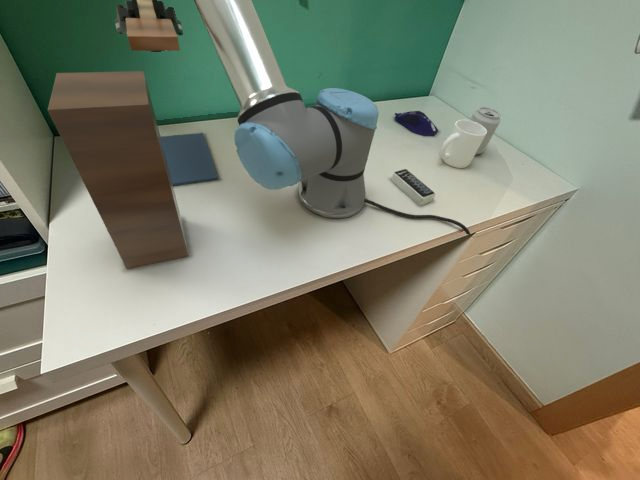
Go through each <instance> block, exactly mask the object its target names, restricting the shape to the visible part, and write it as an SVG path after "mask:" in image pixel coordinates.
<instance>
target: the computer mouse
mask: <svg viewBox="0 0 640 480" xmlns="http://www.w3.org/2000/svg"><path fill="white" fill-rule="evenodd" d="M394 119H395V122H397V123H399V124H400V125H402V126H403V127H404V128H406V129H408V130H409V131H411V132H412V133H415V134H418V135H420V136H421V135H422V136H430V137H431V136H432V137H433V136H435V135H436V134H437V133H438V132H439V129H438V128H437V126H436V125H435V124H434V122H433V121H432V120H431V119H430V118H429V117H428V116H427V114H425V112H422V111H420V110H410V111H405V112H403V113H402V112H398V113H397V112H394Z"/></svg>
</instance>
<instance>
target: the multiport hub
mask: <svg viewBox="0 0 640 480" xmlns="http://www.w3.org/2000/svg"><path fill="white" fill-rule="evenodd" d="M391 182H393V183H394V184H395V185H396V186H397V187H398V188H399V189H400V190H401V191H402V192H404V193H405V194H406V195H407V196H408V197H409V198H411V199H412V200H413V201H414V202H415V204H417V205H418V206H423V205H425V204H428V203H431V202H432V201H433V199H434V197H435V195H436V192H435V191H434V190H432V189H431V187H429V186H427V185H426V184H425V183H424V182H422V181H421V180H420V179H419V178H418V177H417V176H415V174H413V173H412V172H411V171H410V170H408V169H407V168H403V169H399V170H396V171H394V172H393V173H392V177H391Z"/></svg>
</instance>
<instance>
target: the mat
mask: <svg viewBox="0 0 640 480" xmlns="http://www.w3.org/2000/svg"><path fill="white" fill-rule="evenodd" d="M160 136H161V140H162V144H163V148H164V152H165V156H166V160H167V164H168V168H169V172H170V176H171V180H172V184H173V187H174V186H179V185H188V184H193V183H202V182H211V181H217V180H219V177H218V173H217V171H216V167H215V165H214V161H213V159H212V156H211V152H210V150H209V146H208V143H207V141H206V137H205V134H204V132H198V133H186V134H175V135H174V134H173V135H164V136H162V135H160Z"/></svg>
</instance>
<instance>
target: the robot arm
mask: <svg viewBox="0 0 640 480" xmlns="http://www.w3.org/2000/svg"><path fill="white" fill-rule="evenodd" d="M194 2H195V4H196V6H197V9H198V11H199V13H200V15H201V16H200V18H201V20H202V22H203V24H204V27H205V29H206V31H207V33H208V36H209V38H210V41H211V43H212V45H213V47H214V49H215V51H216V54H217V56H218V58H219V61H220V63H221V65H222V68H223V70H224V72H225V74H226V76H227V79H228V81H229V84H230V85H231V88H232V90H233V92H234V94H235V98H236V99H237V102H238V104H239V107H240V108H239V111H238V114H237V117H236V121H237V123H238V127H237V128H236V130H235V132H234V145H235V146H236V153H237V156H238V159H239V161H240V163H241V164H242V166H243V168H244V169H245V171H246V173H247V174H248V175H249V177H251V179H252V180H254V182H255V183H257V184H258V185H260V186H261V187H262V188H265V189H267V190H271V191H277V190H282V189H284V188H287V187H293V186H295V185H298V197H299V198H298V199H299V201H300V203H301V204H302V205H303V206H304V207H305V208H306V209H307V210H308V211H310V212H311V213H313V214H315V215H318V216H319V217H320V216H321V217H324V218H327V219H346V218H350V217H352V216H354V215H356V214H358V213H359V212H360V211H361V210H362V209H363V207H364V204H365V203H366V204H369V205H371V206H373V207H375V208H377V209H381V210H384V211H386V212H388V213H391V214H394V215H396V216H401V217H404V218H408V219H415V220H417V219H419V220H422V219H423V220H424V219H432V220H438V221H442V222H447V223H449V224H453V225H456V226H458V227H459V228H461V230H463V231H464V232H465V234H466V235H469V236H470V235H471V232H470V230H469V229H468V227H466V225H464V224H463V223H461V222H459V221H457V220H455V219H451V218H448V217H445V216H444V217H443V216H439V215H434V214H411V213H405V212H401V211H398V210H396V209H392V208H389V207H387V206H385V205H382V204H380V203H377V202H375V201H372V200H370V199H368V198H366V184H365V183H366V182H365V174H364V173H365V170H366V165H367V162H368V158H369V155H370V151H371V147H372V143H373V140H374V136H375V132H376V130H377V129H378V126H377V124H378V119H379V108H378V107H377V105H376V104H375V102H374V101H372V99H370V98H368V97H367V96H364V94H363V95H362V94H361V93H358V92H355V91H352V90H348V89H345V88H337V87H327V88H323V89H322V90H320V91H319V92H318V96H317V97H316V105H313V106H310V107H306V105H305V103H304V100H303V97H302V94H301V93H300V92H299V91H298V90H296V89H294V88H291V87H289V86H288V84H287V83H286V80H285V78H284V76H283V73H282V69H281V68H280V66H279V63H278V60H277V59H276V56H275V54H274V51H273V49H272V46H271V44H270V42H269V40H268V37H267V34H266V32H265V30H264V27H263V25H262V23H261V20H260V18H259V15H258V12H257V10H256V9H255V6H254V3H253V1H252V0H194ZM125 3H126V7H125V8H124V6H123V5H121V4H116V6H115V7H116V18H114V19H113V21H114V24H115V28H116V32H117V34H118V35H124V34H127V28H126V18H140V15H139V9H138V4H137V0H132V1H125ZM152 3H153V7H154V10H155V14H156V17H157V19H171V21H172V23H173V26H174V29H175V31H176V34H177V36H183V35H184V32H183V25H182V21H180V20H179V19H178V18H177V17H176V14H175V11H174V8H173V7H168V8H167V9H165V6H164V3H163V2H162V1H157V0H152ZM151 52H161V51H151Z"/></svg>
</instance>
